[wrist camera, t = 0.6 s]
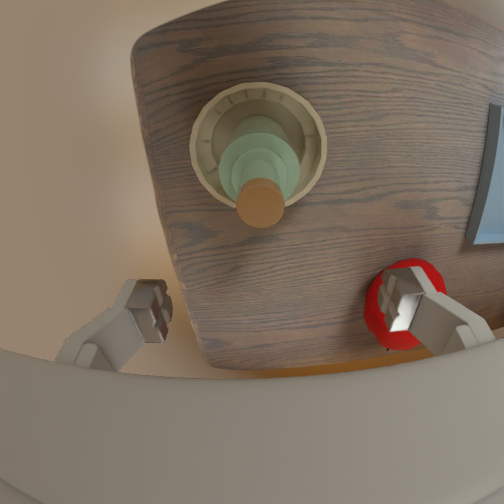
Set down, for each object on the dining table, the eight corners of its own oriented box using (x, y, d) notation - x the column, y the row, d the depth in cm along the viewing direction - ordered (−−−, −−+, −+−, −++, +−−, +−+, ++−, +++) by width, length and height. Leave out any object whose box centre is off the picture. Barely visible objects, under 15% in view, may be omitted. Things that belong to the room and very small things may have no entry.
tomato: (388, 234, 41) (367, 299, 49) (366, 281, 32) (341, 350, 40) (461, 263, 35) (429, 324, 43) (460, 319, 27) (416, 381, 34)
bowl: (192, 87, 28) (182, 89, 23) (316, 80, 27) (327, 82, 23) (206, 196, 35) (199, 215, 31) (316, 191, 34) (324, 209, 30)
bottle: (228, 115, 29) (199, 159, 15) (285, 113, 28) (315, 153, 14) (232, 168, 32) (213, 254, 18) (286, 165, 32) (312, 250, 18)
